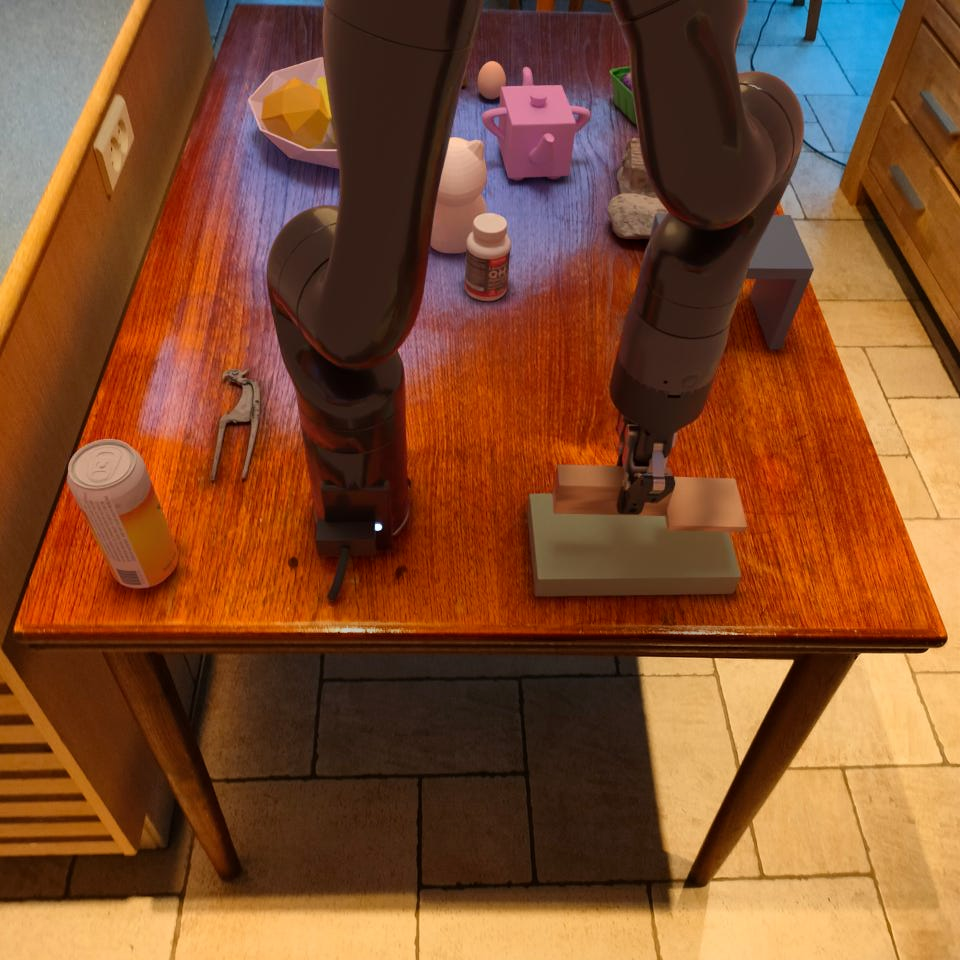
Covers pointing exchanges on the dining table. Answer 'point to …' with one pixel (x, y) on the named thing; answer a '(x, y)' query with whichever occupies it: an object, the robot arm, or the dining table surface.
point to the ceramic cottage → (634, 172)
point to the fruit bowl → (297, 113)
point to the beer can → (123, 512)
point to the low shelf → (624, 555)
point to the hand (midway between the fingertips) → (626, 497)
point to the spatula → (684, 508)
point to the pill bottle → (487, 258)
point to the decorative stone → (634, 215)
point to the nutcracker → (240, 414)
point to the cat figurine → (459, 195)
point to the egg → (491, 80)
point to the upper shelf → (775, 277)
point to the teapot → (535, 129)
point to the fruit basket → (623, 91)
